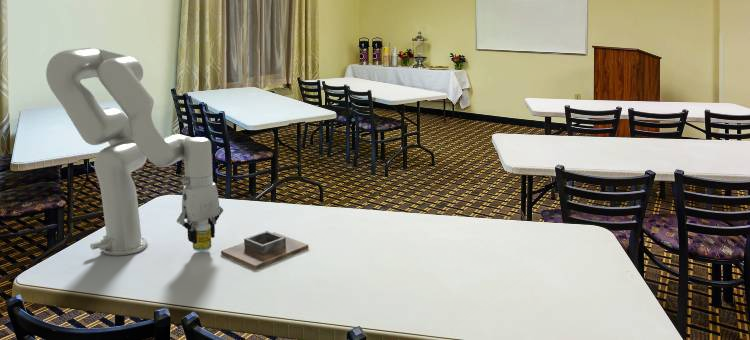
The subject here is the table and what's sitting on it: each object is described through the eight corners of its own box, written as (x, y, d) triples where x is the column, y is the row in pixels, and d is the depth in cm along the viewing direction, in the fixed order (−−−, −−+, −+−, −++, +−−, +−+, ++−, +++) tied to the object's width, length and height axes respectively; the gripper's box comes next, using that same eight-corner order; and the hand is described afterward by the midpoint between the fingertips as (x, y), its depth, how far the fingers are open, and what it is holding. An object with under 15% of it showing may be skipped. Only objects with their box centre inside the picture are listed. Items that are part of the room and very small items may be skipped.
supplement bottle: (205, 243, 179) (204, 213, 177) (214, 248, 176) (213, 218, 173) (189, 247, 176) (187, 217, 173) (198, 253, 172) (196, 222, 170)
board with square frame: (255, 269, 164) (254, 255, 163) (221, 254, 174) (220, 241, 173) (308, 248, 179) (308, 235, 178) (274, 235, 189) (273, 223, 188)
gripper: (179, 189, 162) (183, 251, 166) (231, 177, 174) (233, 235, 179) (164, 183, 166) (168, 243, 171) (216, 172, 179) (218, 228, 184)
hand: (201, 238), depth 175 cm, fingers closed on supplement bottle, 5 cm apart
